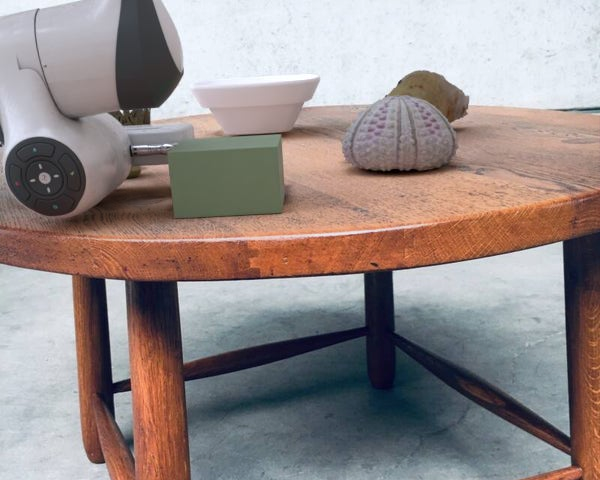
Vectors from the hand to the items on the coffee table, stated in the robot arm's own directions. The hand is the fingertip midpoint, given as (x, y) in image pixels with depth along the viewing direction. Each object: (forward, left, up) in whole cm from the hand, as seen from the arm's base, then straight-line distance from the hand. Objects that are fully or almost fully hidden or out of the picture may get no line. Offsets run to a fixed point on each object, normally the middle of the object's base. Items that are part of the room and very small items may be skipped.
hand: (115, 138), depth 105 cm
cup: (0, +4, -5) cm, 6 cm away
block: (+15, -20, -5) cm, 26 cm away
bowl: (+14, +43, -5) cm, 45 cm away
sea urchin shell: (+33, -1, -5) cm, 34 cm away
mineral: (+37, +27, -5) cm, 46 cm away
